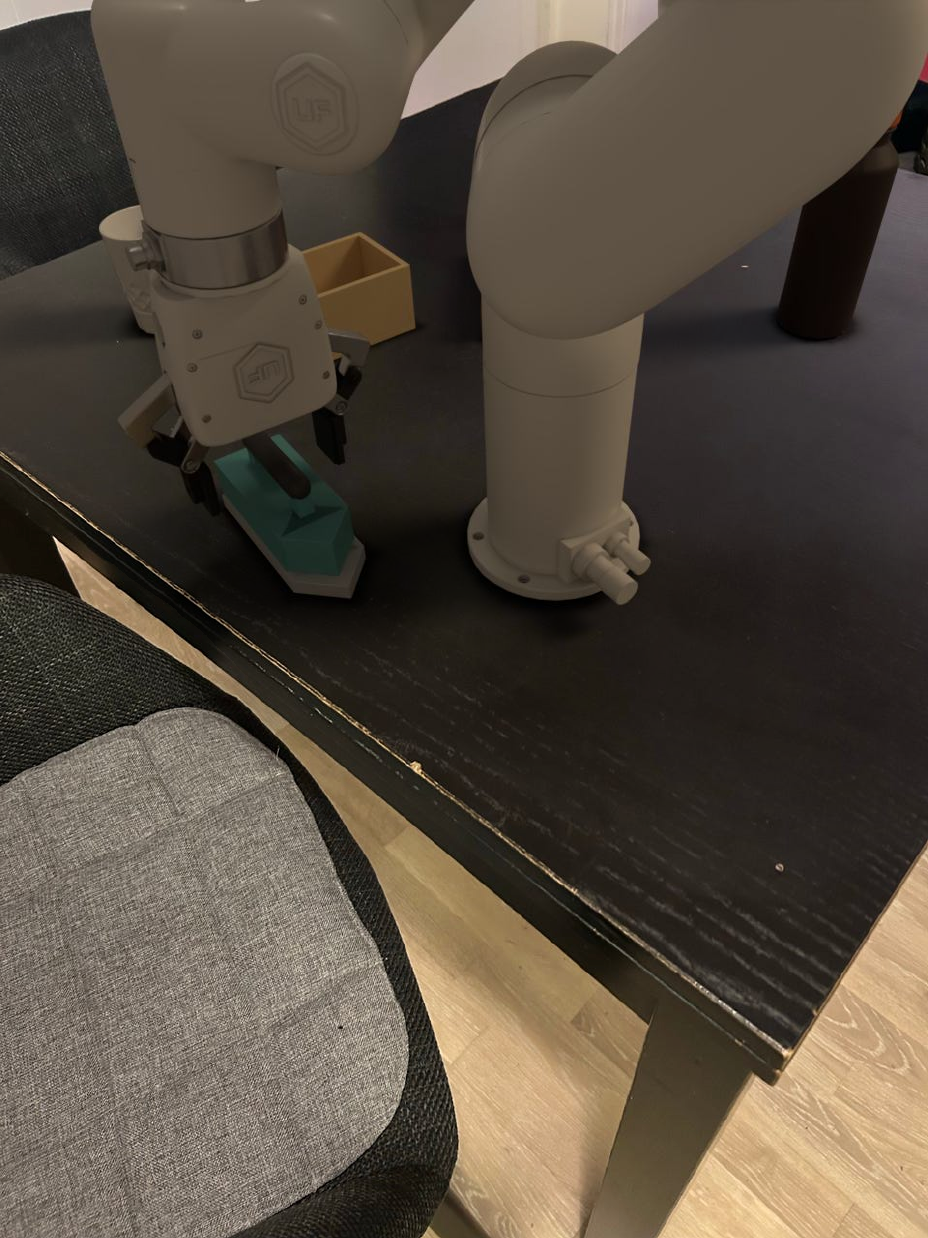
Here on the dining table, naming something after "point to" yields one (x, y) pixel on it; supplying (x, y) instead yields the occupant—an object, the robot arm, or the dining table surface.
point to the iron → (292, 516)
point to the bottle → (837, 245)
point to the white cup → (135, 284)
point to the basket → (362, 287)
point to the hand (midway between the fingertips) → (271, 479)
